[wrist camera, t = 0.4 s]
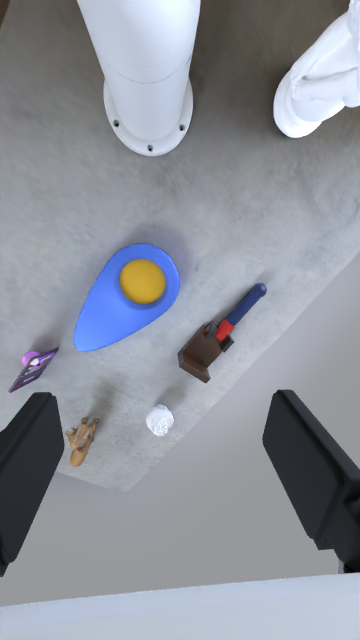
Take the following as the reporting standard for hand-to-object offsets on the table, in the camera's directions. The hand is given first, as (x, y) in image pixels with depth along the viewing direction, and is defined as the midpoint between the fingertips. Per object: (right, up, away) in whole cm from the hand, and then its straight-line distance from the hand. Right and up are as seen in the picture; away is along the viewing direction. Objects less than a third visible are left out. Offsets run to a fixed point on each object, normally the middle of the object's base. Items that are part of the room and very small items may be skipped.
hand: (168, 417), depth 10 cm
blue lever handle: (+12, +6, +36) cm, 39 cm away
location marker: (-11, +8, +34) cm, 36 cm away
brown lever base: (+6, -1, +39) cm, 39 cm away
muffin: (-4, -17, +44) cm, 48 cm away
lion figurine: (-22, -22, +45) cm, 55 cm away
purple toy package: (-29, -4, +37) cm, 47 cm away
